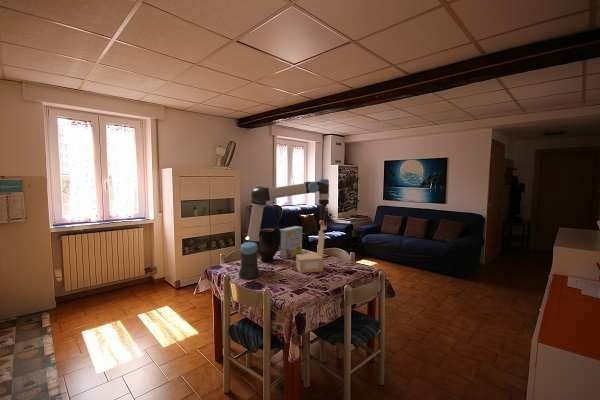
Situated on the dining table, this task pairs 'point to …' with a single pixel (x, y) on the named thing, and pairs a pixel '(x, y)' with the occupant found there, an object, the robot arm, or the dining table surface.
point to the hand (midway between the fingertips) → (323, 228)
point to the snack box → (291, 242)
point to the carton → (309, 262)
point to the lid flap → (321, 240)
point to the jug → (268, 244)
